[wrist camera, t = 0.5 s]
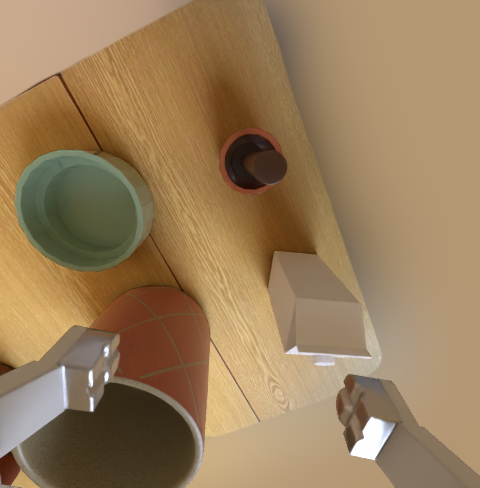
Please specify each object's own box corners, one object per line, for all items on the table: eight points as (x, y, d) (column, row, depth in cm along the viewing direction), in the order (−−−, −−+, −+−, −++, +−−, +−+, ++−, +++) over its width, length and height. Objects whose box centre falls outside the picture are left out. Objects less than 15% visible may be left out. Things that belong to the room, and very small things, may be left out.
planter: (139, 387, 50) (82, 530, 31) (79, 305, 44) (-37, 418, 25) (232, 350, 48) (233, 478, 29) (182, 260, 42) (142, 345, 23)
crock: (222, 133, 37) (219, 126, 29) (274, 135, 37) (285, 129, 29) (221, 186, 39) (219, 193, 31) (270, 188, 39) (280, 195, 31)
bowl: (37, 148, 36) (1, 147, 31) (151, 152, 37) (137, 152, 31) (57, 254, 41) (29, 270, 35) (158, 256, 42) (147, 272, 36)
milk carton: (273, 250, 42) (305, 320, 24) (317, 254, 43) (381, 326, 25) (267, 290, 44) (292, 382, 26) (309, 293, 45) (362, 386, 27)
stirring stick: (231, 143, 36) (232, 123, 15) (265, 144, 36) (313, 127, 15) (230, 178, 38) (230, 205, 16) (263, 179, 38) (304, 207, 17)
